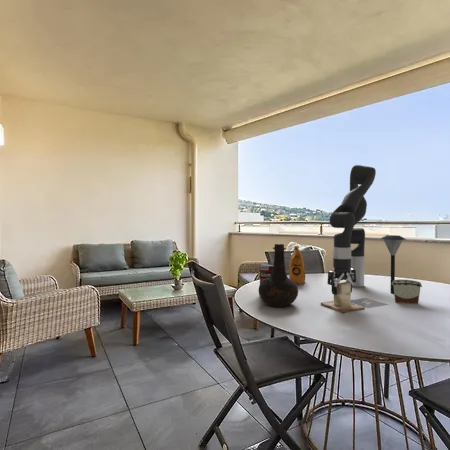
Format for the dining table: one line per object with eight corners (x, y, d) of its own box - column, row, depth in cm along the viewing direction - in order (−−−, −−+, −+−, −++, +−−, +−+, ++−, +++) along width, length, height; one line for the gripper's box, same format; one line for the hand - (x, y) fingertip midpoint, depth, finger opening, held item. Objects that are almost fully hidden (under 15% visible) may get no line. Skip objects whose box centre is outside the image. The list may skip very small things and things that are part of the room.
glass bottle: (252, 301, 154) (251, 243, 153) (283, 297, 161) (283, 241, 160) (271, 312, 137) (271, 246, 136) (306, 307, 144) (306, 244, 143)
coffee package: (287, 283, 192) (287, 247, 192) (289, 279, 204) (289, 245, 204) (304, 284, 190) (304, 247, 189) (305, 280, 202) (305, 245, 201)
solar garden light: (379, 294, 165) (379, 236, 164) (379, 289, 176) (379, 234, 175) (406, 297, 160) (407, 236, 159) (405, 291, 171) (405, 235, 170)
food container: (418, 301, 153) (418, 280, 152) (421, 304, 147) (422, 282, 146) (389, 299, 157) (389, 278, 156) (391, 302, 151) (391, 281, 150)
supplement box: (259, 296, 163) (259, 265, 162) (260, 294, 168) (260, 264, 167) (276, 297, 161) (276, 265, 161) (277, 295, 166) (277, 264, 165)
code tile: (345, 301, 153) (345, 300, 153) (365, 298, 158) (365, 297, 158) (367, 308, 141) (367, 308, 141) (388, 304, 147) (388, 304, 147)
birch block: (333, 304, 145) (333, 282, 145) (342, 302, 147) (342, 281, 147) (341, 307, 140) (342, 284, 140) (350, 305, 142) (350, 283, 142)
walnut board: (320, 304, 148) (320, 302, 148) (340, 301, 153) (340, 299, 153) (343, 313, 135) (343, 310, 135) (364, 309, 140) (364, 307, 140)
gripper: (347, 255, 149) (347, 290, 150) (323, 257, 144) (323, 293, 144) (360, 257, 142) (360, 293, 143) (335, 259, 137) (335, 297, 137)
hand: (341, 293), depth 144 cm, fingers open, 8 cm apart
